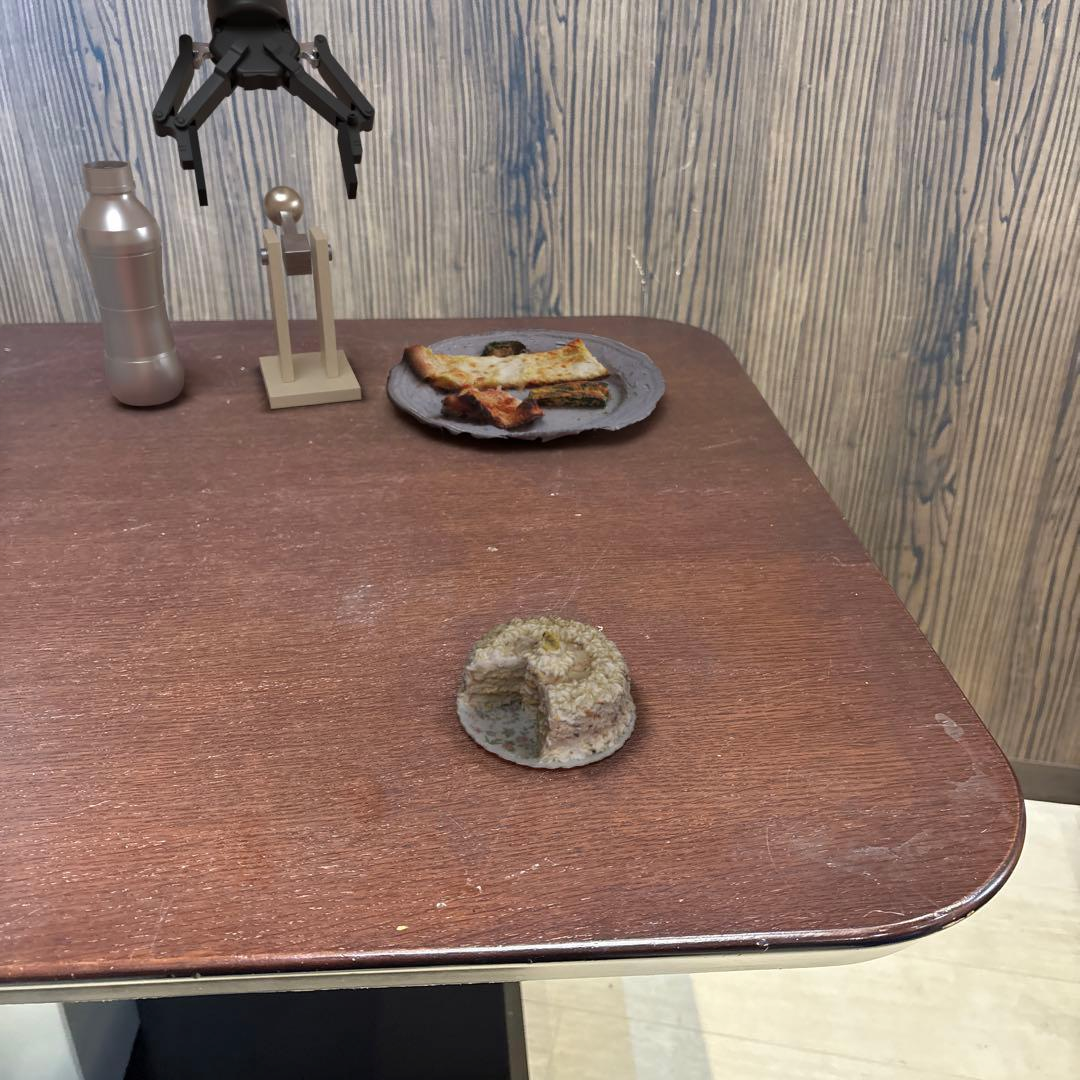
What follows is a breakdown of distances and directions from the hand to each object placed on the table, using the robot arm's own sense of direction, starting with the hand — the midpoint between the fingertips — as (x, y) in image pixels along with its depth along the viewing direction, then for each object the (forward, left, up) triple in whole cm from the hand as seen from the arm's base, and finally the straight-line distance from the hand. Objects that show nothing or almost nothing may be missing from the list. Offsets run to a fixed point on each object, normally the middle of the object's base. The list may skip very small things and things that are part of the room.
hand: (279, 194), depth 93 cm
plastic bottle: (-6, -15, -15) cm, 23 cm away
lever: (+3, -4, -4) cm, 6 cm away
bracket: (+5, -7, -15) cm, 18 cm away
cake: (+38, -45, -15) cm, 61 cm away
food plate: (+25, -4, -15) cm, 30 cm away
